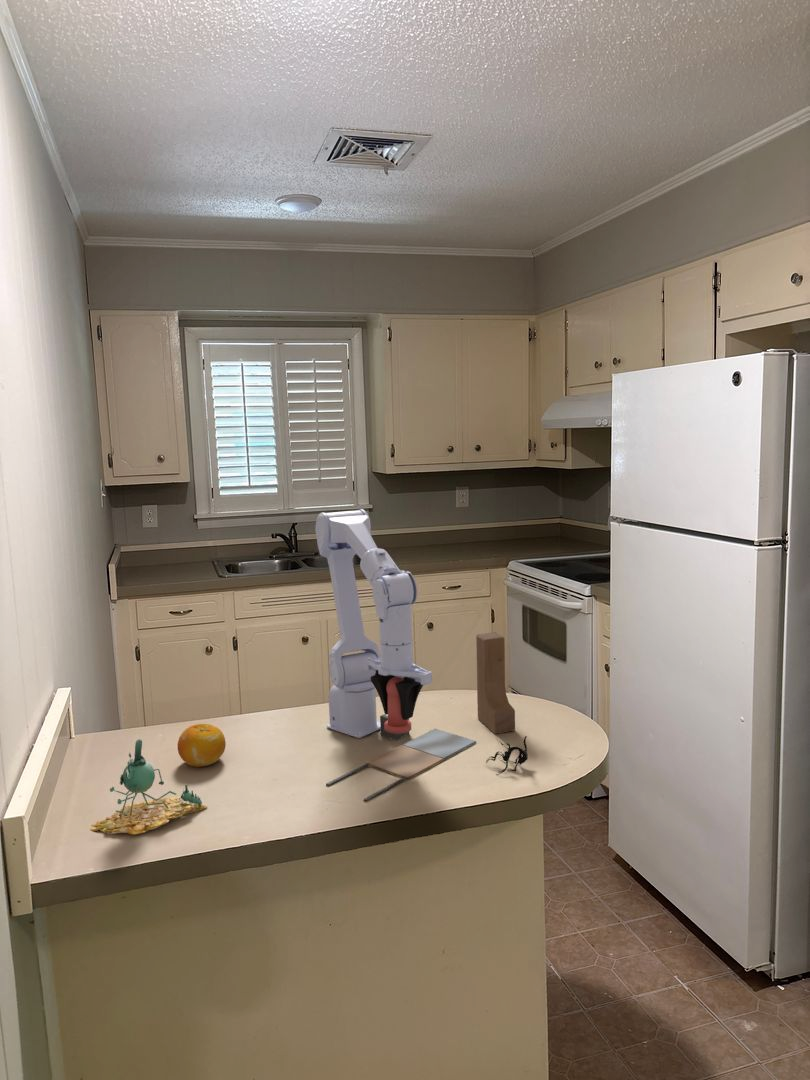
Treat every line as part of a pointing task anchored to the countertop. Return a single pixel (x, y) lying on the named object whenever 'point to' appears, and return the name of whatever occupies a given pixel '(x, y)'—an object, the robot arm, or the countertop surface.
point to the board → (414, 756)
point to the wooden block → (493, 684)
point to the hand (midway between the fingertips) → (398, 715)
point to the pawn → (395, 710)
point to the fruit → (201, 745)
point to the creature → (508, 753)
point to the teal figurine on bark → (148, 812)
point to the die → (386, 734)
